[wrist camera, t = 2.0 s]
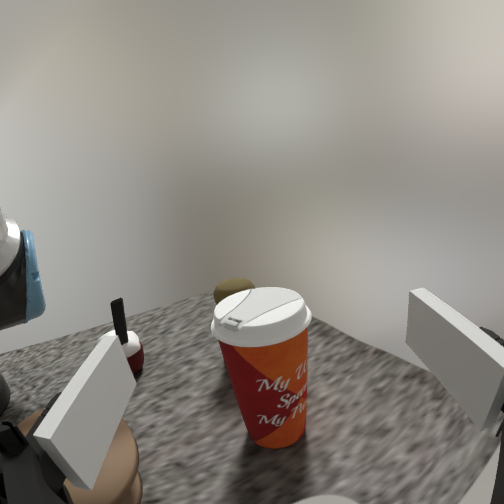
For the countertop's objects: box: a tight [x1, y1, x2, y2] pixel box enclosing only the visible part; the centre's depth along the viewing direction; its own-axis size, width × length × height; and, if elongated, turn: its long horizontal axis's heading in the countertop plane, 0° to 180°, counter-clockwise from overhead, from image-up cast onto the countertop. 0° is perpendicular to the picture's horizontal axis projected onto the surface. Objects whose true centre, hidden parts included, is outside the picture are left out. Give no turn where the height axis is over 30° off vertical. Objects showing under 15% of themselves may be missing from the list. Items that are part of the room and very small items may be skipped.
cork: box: [214, 278, 255, 305], centre depth 39 cm, size 6×6×11 cm
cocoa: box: [96, 298, 144, 375], centre depth 37 cm, size 10×6×12 cm, turn 28°
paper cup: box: [211, 287, 311, 449], centre depth 25 cm, size 8×8×14 cm
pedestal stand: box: [17, 409, 142, 504], centre depth 17 cm, size 15×15×6 cm
